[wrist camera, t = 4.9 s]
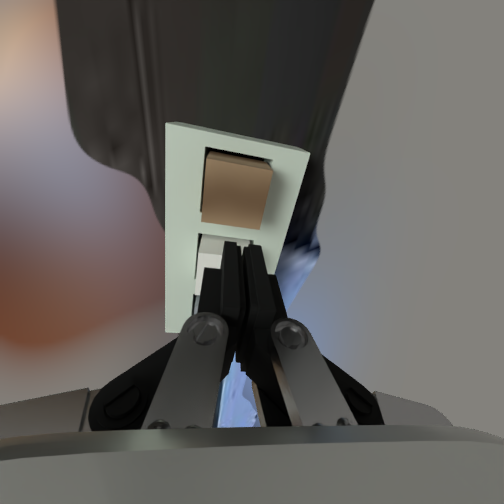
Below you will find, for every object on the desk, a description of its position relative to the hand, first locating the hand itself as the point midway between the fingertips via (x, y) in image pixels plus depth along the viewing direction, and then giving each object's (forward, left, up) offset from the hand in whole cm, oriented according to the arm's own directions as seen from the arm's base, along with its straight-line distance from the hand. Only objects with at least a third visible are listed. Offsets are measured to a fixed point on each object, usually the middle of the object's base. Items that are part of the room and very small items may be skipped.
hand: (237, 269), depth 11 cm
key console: (+7, 0, -16) cm, 18 cm away
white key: (+7, 0, -13) cm, 15 cm away
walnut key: (-1, 0, -13) cm, 13 cm away
